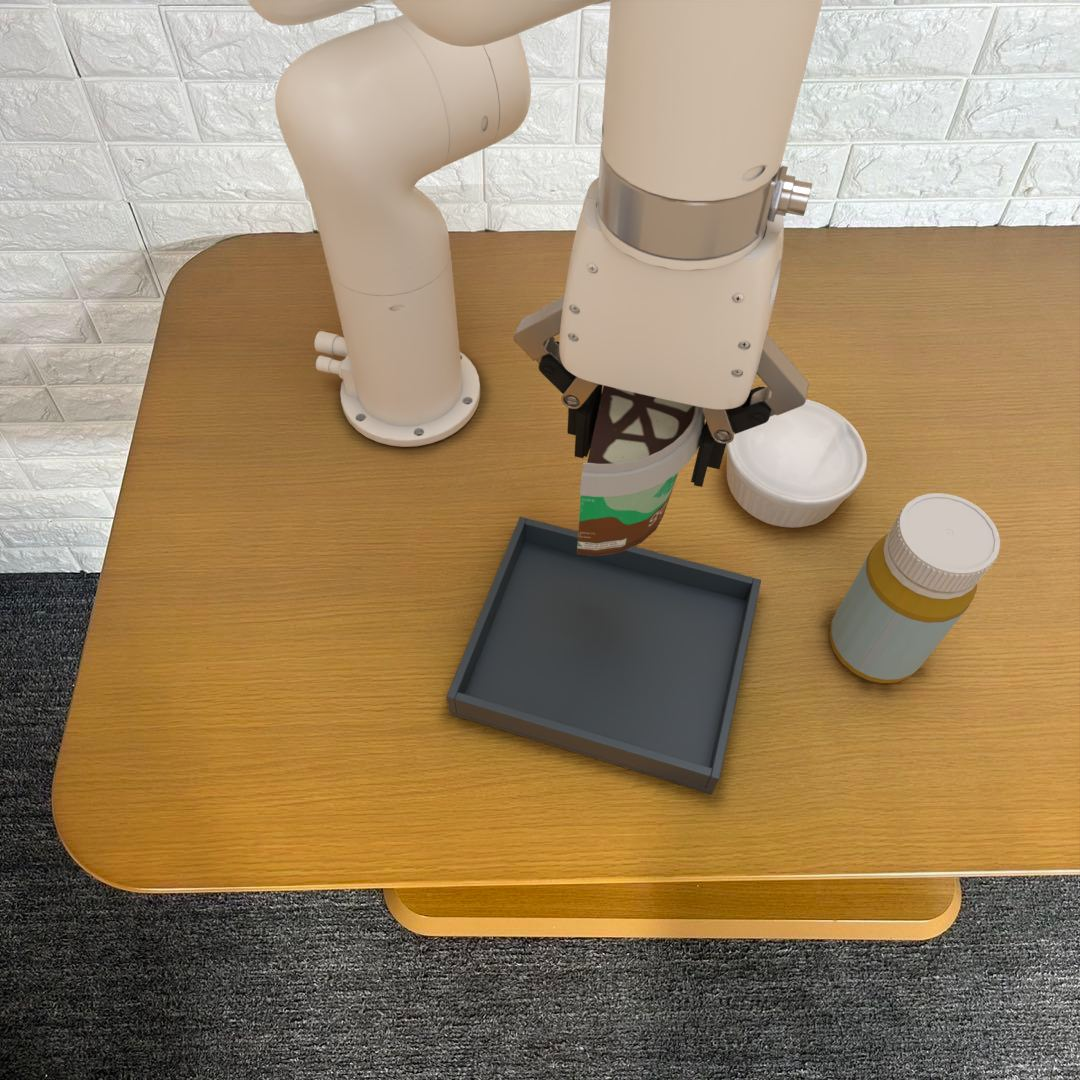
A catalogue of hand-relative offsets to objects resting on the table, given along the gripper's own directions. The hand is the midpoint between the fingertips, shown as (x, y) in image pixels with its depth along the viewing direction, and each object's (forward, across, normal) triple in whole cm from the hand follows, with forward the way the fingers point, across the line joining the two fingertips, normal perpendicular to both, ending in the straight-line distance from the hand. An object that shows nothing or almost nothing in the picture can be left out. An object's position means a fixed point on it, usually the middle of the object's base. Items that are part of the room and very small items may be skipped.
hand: (643, 452), depth 53 cm
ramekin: (+20, -10, -16) cm, 27 cm away
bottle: (+20, -19, -3) cm, 28 cm away
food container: (+5, 0, 0) cm, 5 cm away
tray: (+19, 0, +4) cm, 20 cm away
